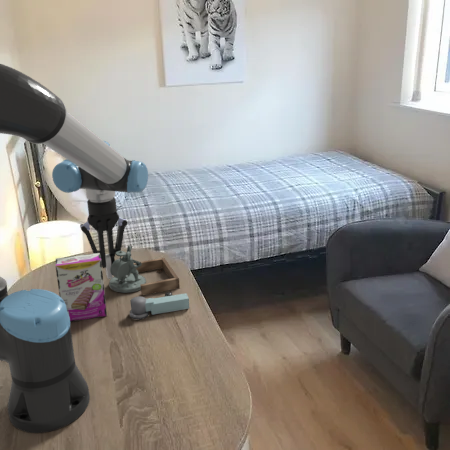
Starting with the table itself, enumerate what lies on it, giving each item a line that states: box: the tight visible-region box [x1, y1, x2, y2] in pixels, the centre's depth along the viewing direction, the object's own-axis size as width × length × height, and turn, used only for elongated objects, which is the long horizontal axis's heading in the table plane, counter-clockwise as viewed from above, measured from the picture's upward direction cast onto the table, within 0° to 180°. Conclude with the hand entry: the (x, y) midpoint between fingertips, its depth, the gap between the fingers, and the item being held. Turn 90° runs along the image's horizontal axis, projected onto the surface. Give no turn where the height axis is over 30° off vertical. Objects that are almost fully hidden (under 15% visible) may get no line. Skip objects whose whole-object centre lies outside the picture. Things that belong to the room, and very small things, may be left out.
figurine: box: [108, 244, 147, 294], centre depth 144 cm, size 11×11×12 cm
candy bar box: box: [55, 253, 108, 323], centre depth 128 cm, size 11×5×16 cm, turn 108°
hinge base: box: [129, 291, 173, 321], centre depth 132 cm, size 12×7×2 cm, turn 112°
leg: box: [130, 293, 190, 315], centre depth 131 cm, size 4×15×4 cm, turn 106°
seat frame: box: [132, 257, 181, 296], centre depth 149 cm, size 11×16×3 cm
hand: (109, 276), depth 144 cm, fingers closed
